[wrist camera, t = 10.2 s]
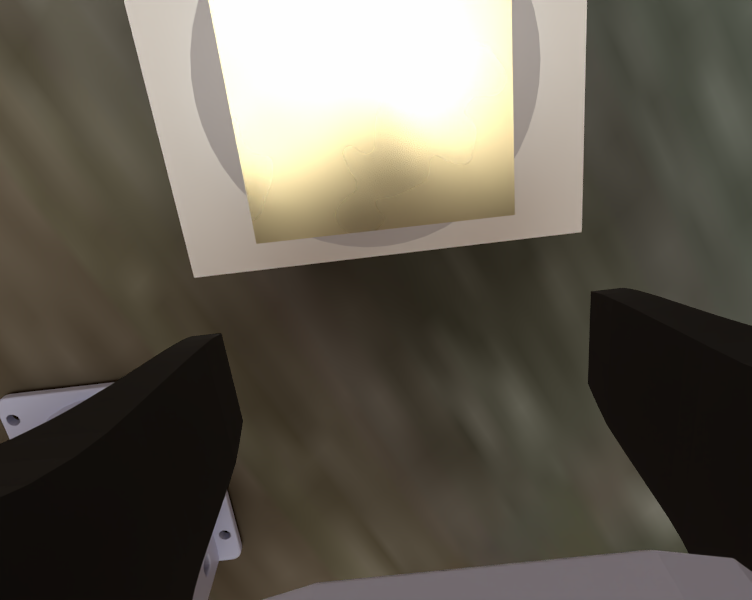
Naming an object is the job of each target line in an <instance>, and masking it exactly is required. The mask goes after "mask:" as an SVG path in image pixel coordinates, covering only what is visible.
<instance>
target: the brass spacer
mask: <svg viewBox="0 0 752 600" xmlns="http://www.w3.org/2000/svg"><path fill="white" fill-rule="evenodd" d="M208 1H209V6H210V11H211V16H212V21H213V26H214V31H215V36H216V41H217V46H218V52H219V57H220V62H221V67H222V72H223V77H224V82H225V87H226V92H227V97H228V102H229V107H230V113H231V118H232V123H233V128H234V133H235V138H236V143H237V148H238V153H239V158H240V163H241V168H242V174H243V179H244V184H245V189H246V194H247V199H248V204H249V209H250V214H251V219H252V224H253V229H254V234H255V240H256V244H260V243H269V242H278V241H287V240H295V239H304V238H313V237H322V236H331V235H340V234H349V233H358V232H367V231H376V230H385V229H394V228H403V227H411V226H420V225H429V224H438V223H447V222H456V221H465V220H474V219H483V218H492V217H501V216H510V215H515V189H514V126H513V63H512V1H511V0H208Z"/></svg>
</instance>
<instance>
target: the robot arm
mask: <svg viewBox="0 0 752 600" xmlns="http://www.w3.org/2000/svg"><path fill="white" fill-rule="evenodd" d="M588 384H589V387H590V389H591V391H592V394H593V396H594V398H595V400H596V403H597V405H598V407H599V409H600V411H601V413H602V415H603V417H604V420H605V422H606V424H607V425H608V427H609V429H610V430H611V432H612V433H613V435H614V436H615V438H616V439H617V441H618V443H619V444H620V446H621V447H622V449H623V450H624V452H625V453H626V455H627V456H628V458H629V459H630V461H631V462H632V464H633V465H634V467H635V468H636V470H637V471H638V473H639V474H640V476H641V477H642V479H643V480H644V482H645V483H646V485H647V486H648V488H649V489H650V491H651V492H652V494H653V495H654V497H655V498H656V500H657V501H658V503H659V504H660V506H661V507H662V509H663V510H664V512H665V513H666V515H667V516H668V518H669V519H670V521H671V523H672V524H673V526H674V528H675V529H676V531H677V533H678V534H679V536H680V538H681V539H682V541H683V543H684V545H685V547H686V549H687V551H688V553H689V554H686V553H676V552H666V551H657V550H640V551H630V552H620V553H610V554H600V555H590V556H580V557H570V558H560V559H550V560H540V561H530V562H520V563H510V564H500V565H490V566H480V567H469V568H459V569H449V570H439V571H429V572H419V573H409V574H399V575H389V576H379V577H369V578H359V579H349V580H339V581H329V582H319V583H314V584H311V585H308V586H305V587H301V588H298V589H295V590H292V591H288V592H285V593H282V594H279V595H275V596H272V597H269V598H266V599H262V600H752V326H750V325H747V324H743V323H740V322H737V321H733V320H730V319H727V318H723V317H720V316H717V315H714V314H711V313H708V312H705V311H702V310H698V309H695V308H692V307H689V306H686V305H683V304H680V303H677V302H674V301H671V300H668V299H665V298H662V297H659V296H655V295H652V294H649V293H645V292H641V291H638V290H633V289H627V288H618V289H609V290H600V291H591V308H590V339H589V369H588ZM12 415H15V416H17V417H18V418H19V419H20V420H17V419H15V418H14V417H13V416H12ZM0 418H1V421H2V423H3V425H4V428H5V430H6V432H7V434H8V437H9V439H10V440H8V441H6V442H3V443H1V444H0V600H208V598H209V594H210V591H211V587H212V584H213V580H214V576H215V573H216V569H217V566H218V562H219V561H221V560H231V559H235V558H237V557H239V555H240V554H241V550H242V543H241V539H240V535H239V532H238V528H237V524H236V521H235V517H234V513H233V510H232V506H231V502H230V499H229V495H228V491H227V488H228V485H229V482H230V479H231V476H232V473H233V470H234V467H235V463H236V458H237V453H238V448H239V442H240V436H241V429H242V423H243V419H242V415H241V411H240V407H239V403H238V399H237V395H236V391H235V387H234V383H233V379H232V375H231V371H230V367H229V362H228V358H227V354H226V350H225V346H224V342H223V338H222V334H221V333H218V334H209V335H200V336H192V337H189V338H186V339H184V340H182V341H180V342H178V343H176V344H175V345H173V346H171V347H169V348H168V349H166V350H165V351H163V352H161V353H160V354H158V355H157V356H155V357H154V358H152V359H150V360H149V361H147V362H146V363H144V364H143V365H141V366H140V367H138V368H137V369H135V370H133V371H132V372H130V373H129V374H127V375H126V376H124V377H123V378H121V379H119V380H118V381H116V382H111V383H102V384H93V385H85V386H76V387H67V388H59V389H50V390H41V391H32V392H24V393H15V394H8V395H5V396H4V397H3V398H1V399H0ZM223 530H225V531H228V532H229V533H225V532H223Z"/></svg>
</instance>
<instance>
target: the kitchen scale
mask: <svg viewBox="0 0 752 600" xmlns="http://www.w3.org/2000/svg"><path fill="white" fill-rule="evenodd" d="M511 1H512V63H513V126H514V189H515V215H510V216H501V217H492V218H483V219H474V220H465V221H456V222H447V223H438V224H429V225H420V226H411V227H403V228H394V229H385V230H376V231H367V232H358V233H349V234H340V235H331V236H322V237H313V238H304V239H295V240H287V241H278V242H269V243H260V244H256V240H255V234H254V229H253V224H252V219H251V214H250V209H249V204H248V199H247V194H246V189H245V184H244V179H243V174H242V168H241V163H240V158H239V153H238V148H237V143H236V138H235V133H234V128H233V123H232V118H231V113H230V107H229V102H228V97H227V92H226V87H225V82H224V77H223V72H222V67H221V62H220V57H219V52H218V46H217V41H216V36H215V31H214V26H213V21H212V16H211V11H210V6H209V1H208V0H124V3H125V7H126V11H127V15H128V19H129V22H130V26H131V30H132V34H133V38H134V42H135V46H136V50H137V54H138V58H139V62H140V66H141V70H142V74H143V78H144V82H145V86H146V90H147V93H148V97H149V101H150V105H151V109H152V113H153V117H154V121H155V125H156V129H157V133H158V137H159V141H160V145H161V149H162V153H163V157H164V161H165V164H166V168H167V172H168V176H169V180H170V184H171V188H172V192H173V196H174V200H175V204H176V208H177V212H178V216H179V220H180V224H181V228H182V231H183V235H184V239H185V243H186V247H187V251H188V255H189V259H190V263H191V267H192V271H193V275H194V278H196V277H205V276H213V275H222V274H230V273H239V272H247V271H256V270H264V269H273V268H281V267H290V266H298V265H307V264H315V263H323V262H332V261H340V260H349V259H357V258H366V257H374V256H383V255H391V254H400V253H408V252H417V251H425V250H434V249H442V248H451V247H459V246H468V245H476V244H484V243H493V242H501V241H510V240H518V239H527V238H535V237H544V236H552V235H561V234H569V233H578V232H582V196H583V152H584V108H585V63H586V19H587V0H511Z"/></svg>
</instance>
